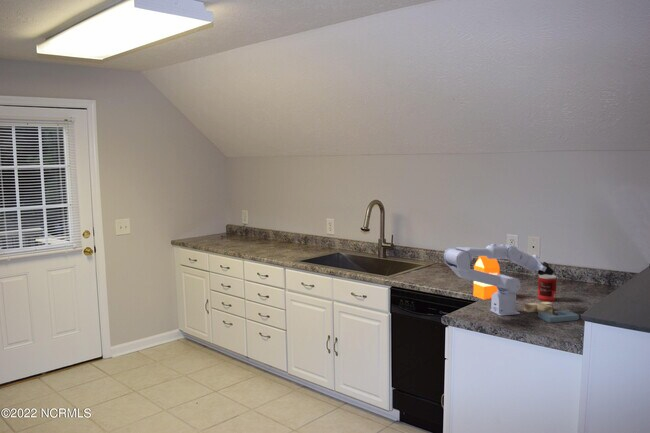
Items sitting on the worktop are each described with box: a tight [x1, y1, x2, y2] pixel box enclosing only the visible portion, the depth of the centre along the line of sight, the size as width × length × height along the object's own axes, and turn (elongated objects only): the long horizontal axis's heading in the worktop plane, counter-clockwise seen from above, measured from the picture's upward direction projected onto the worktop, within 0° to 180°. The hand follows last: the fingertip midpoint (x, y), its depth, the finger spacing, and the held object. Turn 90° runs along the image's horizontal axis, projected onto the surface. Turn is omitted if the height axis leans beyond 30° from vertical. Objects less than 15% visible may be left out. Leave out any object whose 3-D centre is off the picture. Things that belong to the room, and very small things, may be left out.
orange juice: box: [473, 256, 500, 300], centre depth 250 cm, size 8×9×20 cm
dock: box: [537, 309, 580, 323], centre depth 215 cm, size 13×7×2 cm, turn 104°
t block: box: [523, 301, 554, 314], centre depth 225 cm, size 12×8×3 cm, turn 104°
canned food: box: [537, 274, 557, 302], centre depth 245 cm, size 8×8×11 cm
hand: (546, 270), depth 230 cm, fingers open, 7 cm apart
